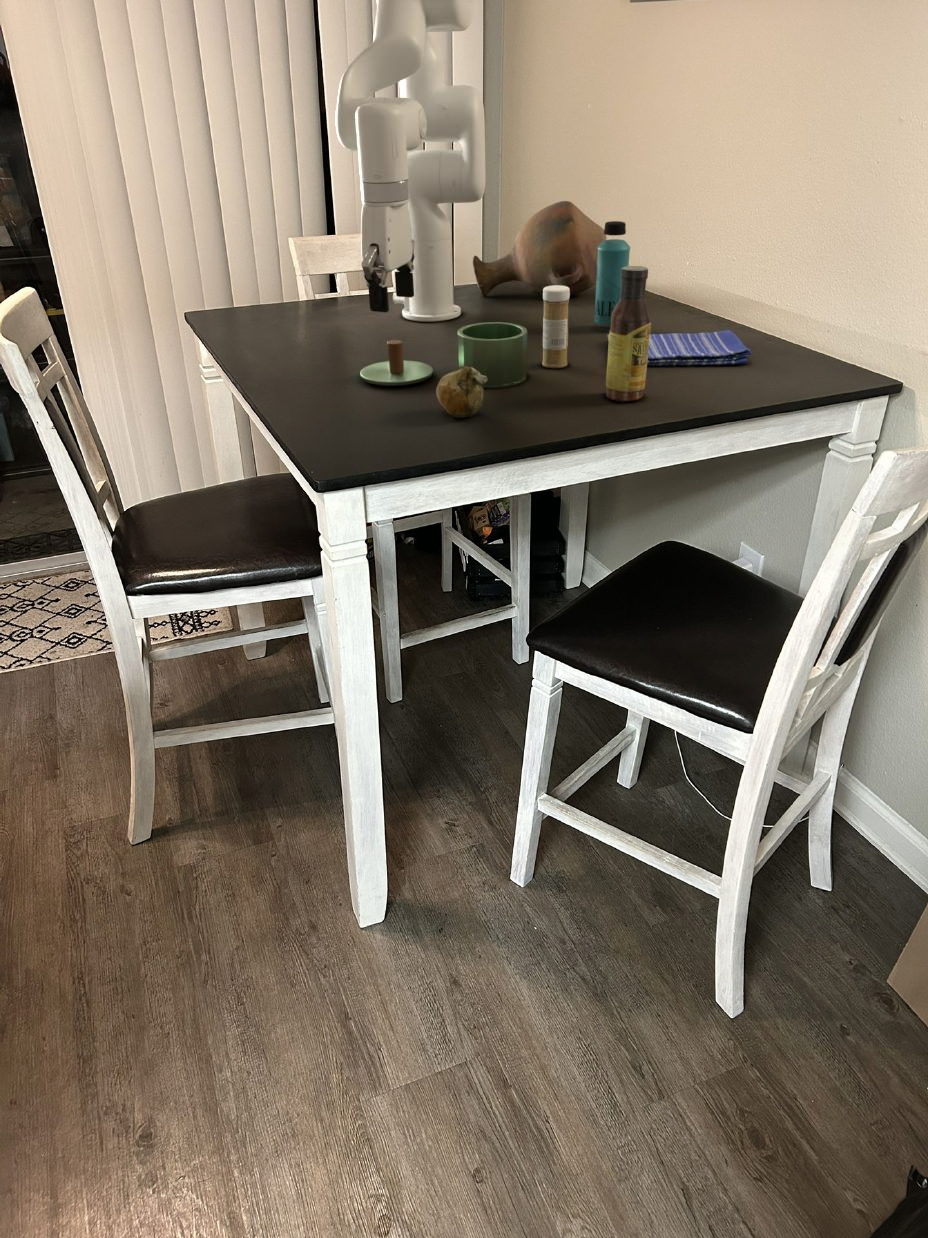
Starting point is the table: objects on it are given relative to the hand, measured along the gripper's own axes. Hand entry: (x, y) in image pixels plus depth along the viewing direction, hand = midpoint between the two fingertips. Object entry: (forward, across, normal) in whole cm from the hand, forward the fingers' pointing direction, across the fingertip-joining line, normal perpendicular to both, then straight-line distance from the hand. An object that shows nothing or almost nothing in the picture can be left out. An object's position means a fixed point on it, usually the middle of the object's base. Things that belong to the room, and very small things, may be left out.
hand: (392, 303), depth 154 cm
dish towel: (+13, -28, +43) cm, 53 cm away
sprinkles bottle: (+13, -14, +24) cm, 31 cm away
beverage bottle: (+13, -41, +27) cm, 51 cm away
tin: (+12, -4, +16) cm, 21 cm away
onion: (+12, +15, +18) cm, 26 cm away
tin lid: (+12, +1, 0) cm, 12 cm away
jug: (+14, -65, +4) cm, 67 cm away
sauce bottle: (+12, -1, +40) cm, 42 cm away
